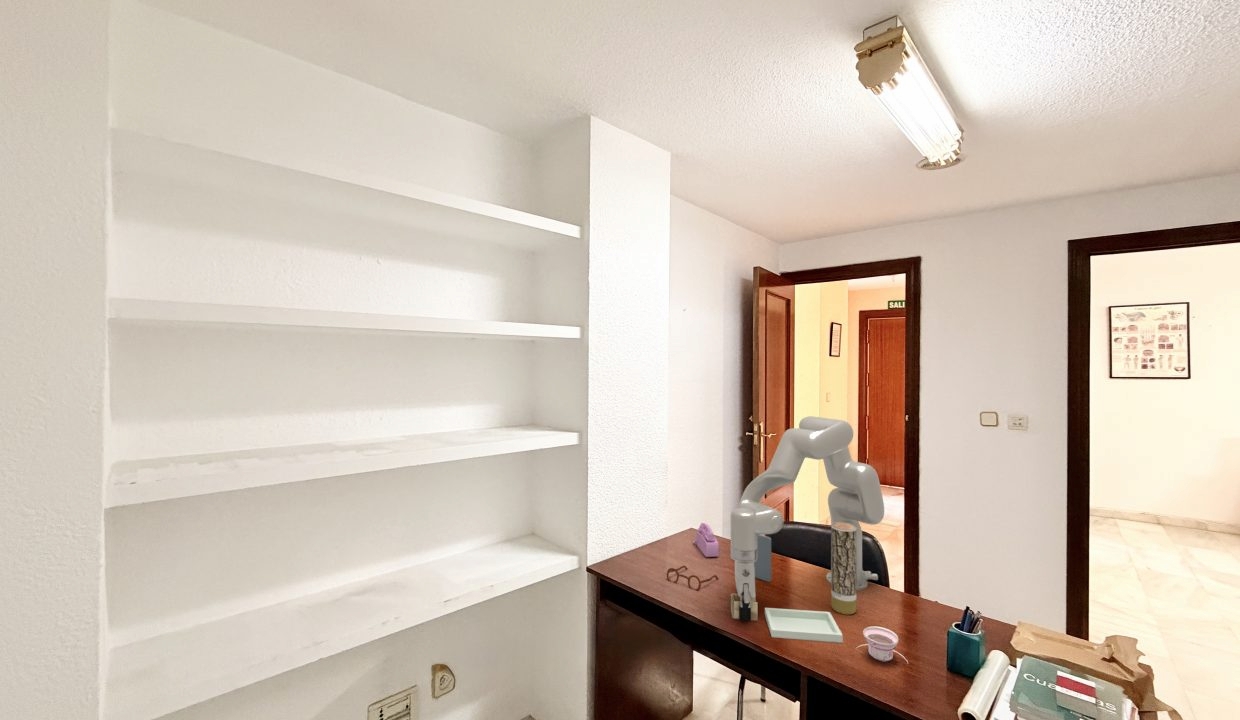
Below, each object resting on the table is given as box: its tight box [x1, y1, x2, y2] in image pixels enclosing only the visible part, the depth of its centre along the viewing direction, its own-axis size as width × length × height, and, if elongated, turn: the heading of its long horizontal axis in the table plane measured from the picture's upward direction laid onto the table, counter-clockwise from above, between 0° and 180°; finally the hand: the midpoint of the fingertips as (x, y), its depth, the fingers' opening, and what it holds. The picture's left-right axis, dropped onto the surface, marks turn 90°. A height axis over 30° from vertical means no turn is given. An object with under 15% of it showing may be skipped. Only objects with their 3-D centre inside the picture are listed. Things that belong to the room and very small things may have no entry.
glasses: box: [666, 565, 720, 592], centre depth 167 cm, size 13×13×5 cm
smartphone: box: [754, 534, 772, 583], centre depth 168 cm, size 8×1×15 cm, turn 47°
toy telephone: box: [692, 522, 720, 558], centre depth 194 cm, size 18×6×10 cm, turn 7°
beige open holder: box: [730, 593, 759, 621], centre depth 143 cm, size 7×5×5 cm
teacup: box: [857, 625, 909, 663], centre depth 123 cm, size 12×12×6 cm
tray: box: [764, 607, 844, 644], centre depth 136 cm, size 18×12×2 cm, turn 82°
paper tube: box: [830, 522, 857, 616], centre depth 147 cm, size 7×7×25 cm
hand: (743, 614), depth 143 cm, fingers closed on beige open holder, 5 cm apart
